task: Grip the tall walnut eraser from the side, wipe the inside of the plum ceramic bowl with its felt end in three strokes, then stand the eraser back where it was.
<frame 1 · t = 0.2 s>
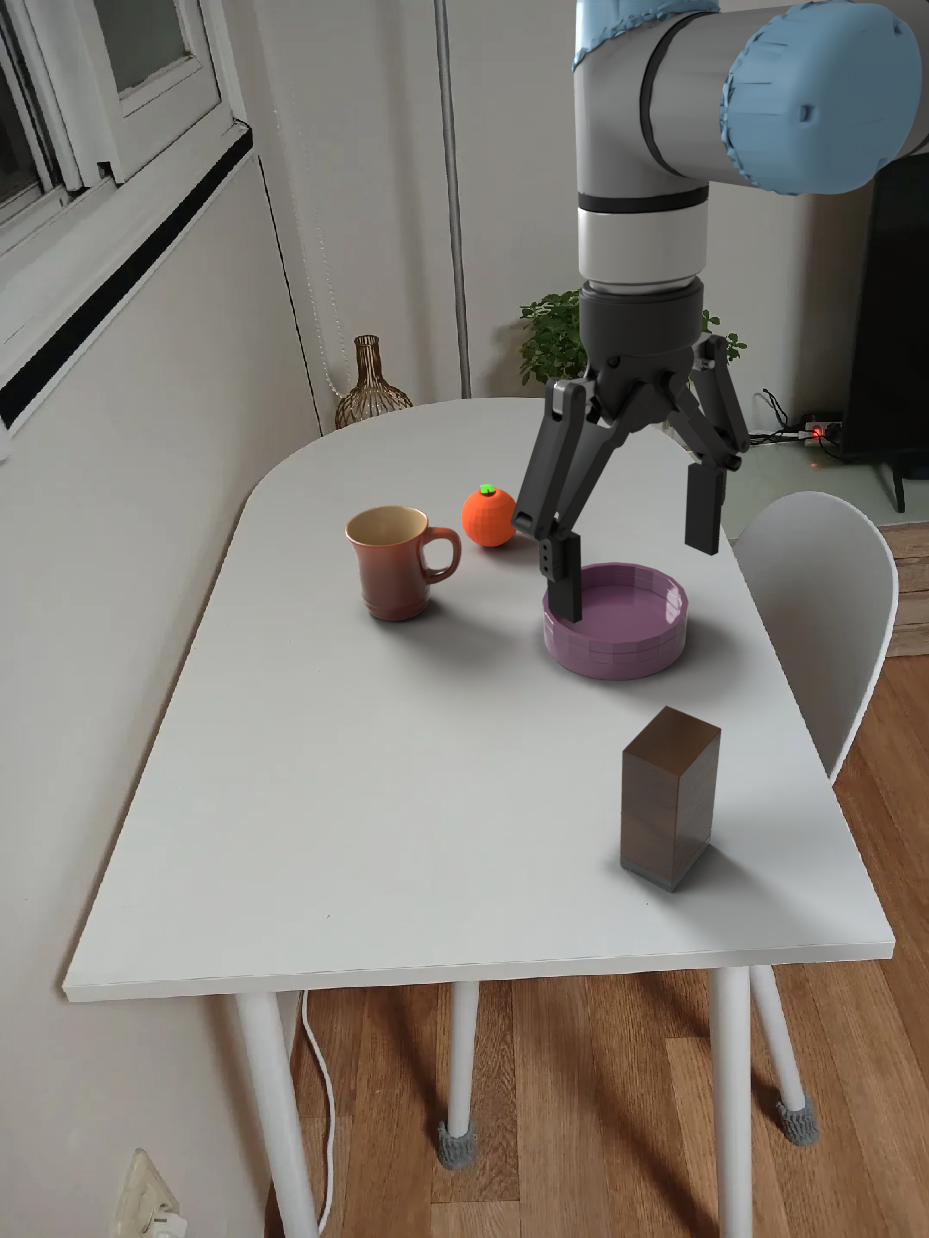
hand: (636, 580, 69), 20 cm above the table, tool pointing down, fingers open, 13 cm apart
clementine: (491, 541, 115), on the table
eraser: (665, 854, 74), on the table
bowl: (614, 636, 97), on the table
mug: (412, 607, 105), on the table
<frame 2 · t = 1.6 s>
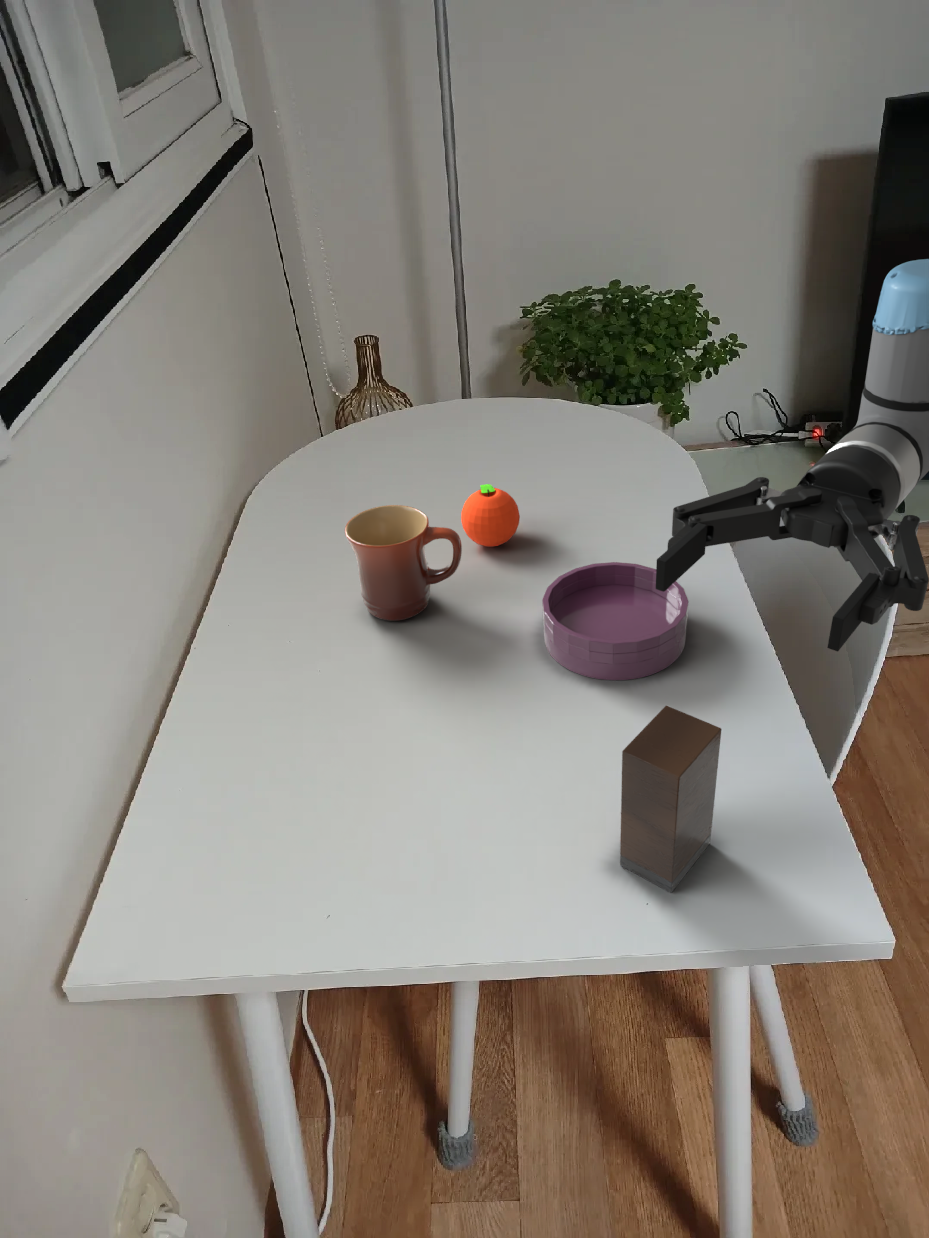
hand: (742, 603, 69), 18 cm above the table, tool horizontal, fingers open, 13 cm apart
nothing on the table moved.
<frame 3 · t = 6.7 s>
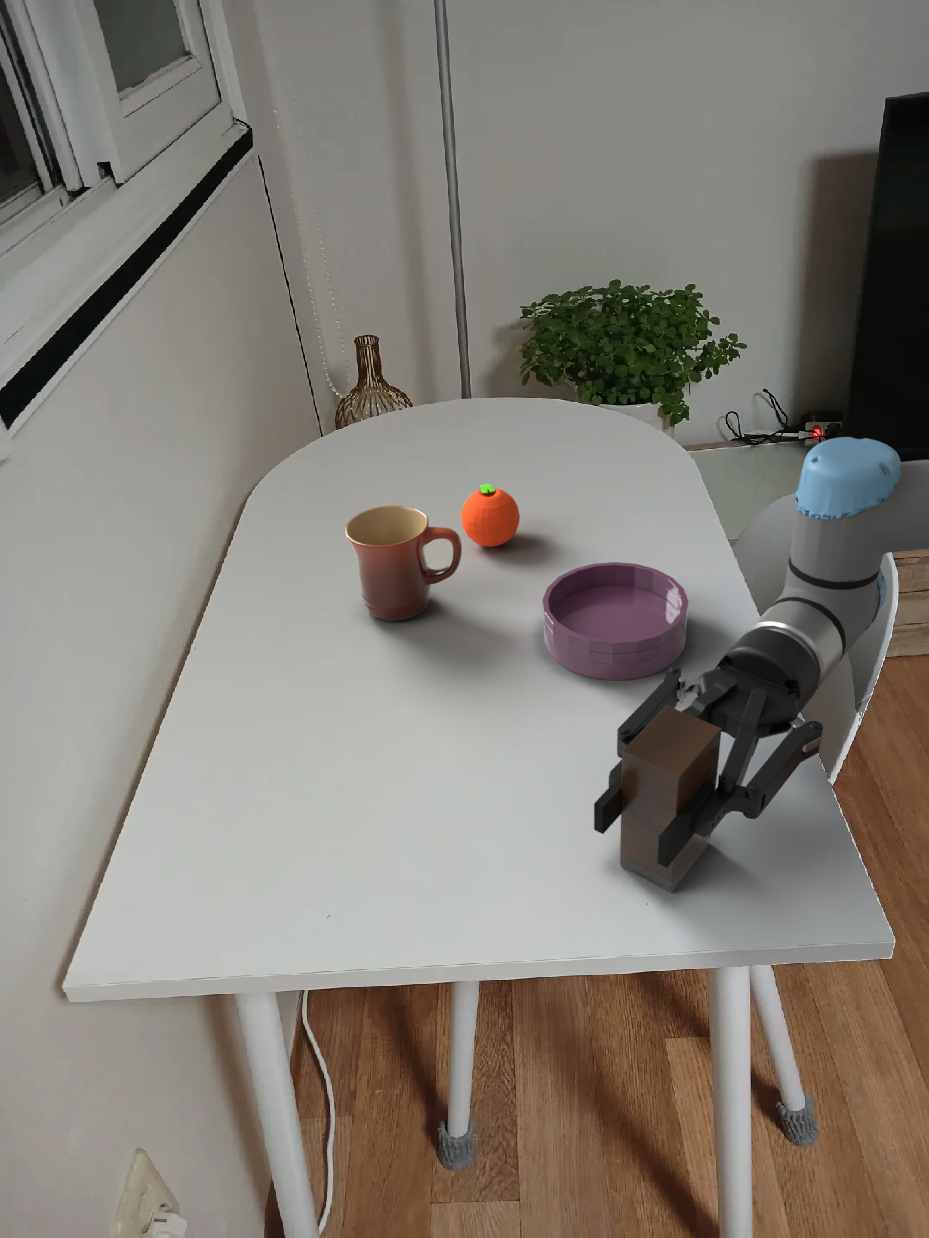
hand: (630, 834, 67), 7 cm above the table, tool horizontal, fingers closed on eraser, 4 cm apart
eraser: (665, 854, 74), on the table, touching gripper
everything else where it was.
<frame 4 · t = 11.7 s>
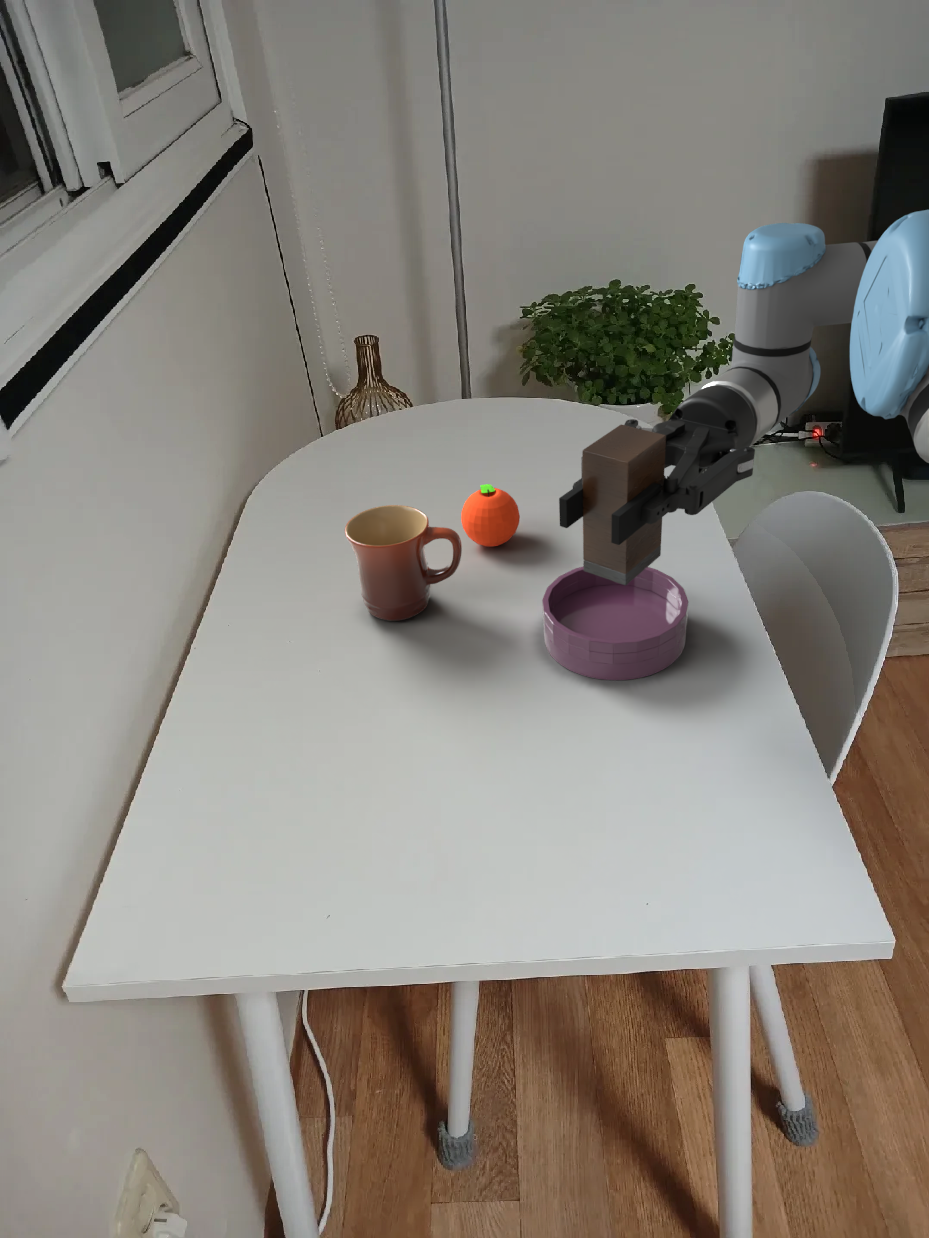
hand: (589, 521, 80), 19 cm above the table, tool horizontal, fingers closed on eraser, 4 cm apart
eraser: (622, 563, 87), point 12 cm above the table, touching gripper
everything else where it was.
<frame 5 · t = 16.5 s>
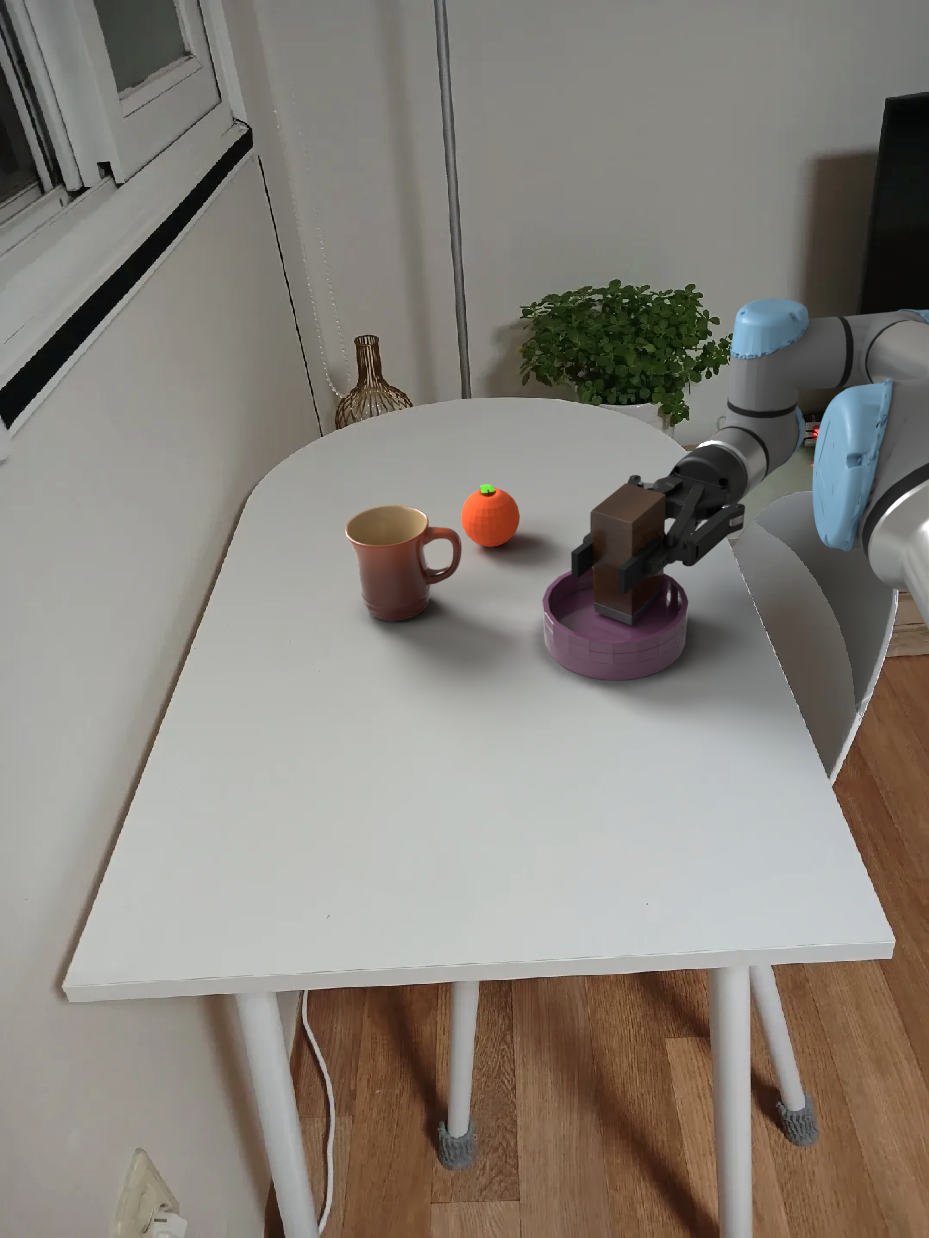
hand: (597, 573, 90), 9 cm above the table, tool horizontal, fingers closed on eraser, 4 cm apart
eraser: (628, 603, 97), point 2 cm above the table, touching gripper
everything else where it was.
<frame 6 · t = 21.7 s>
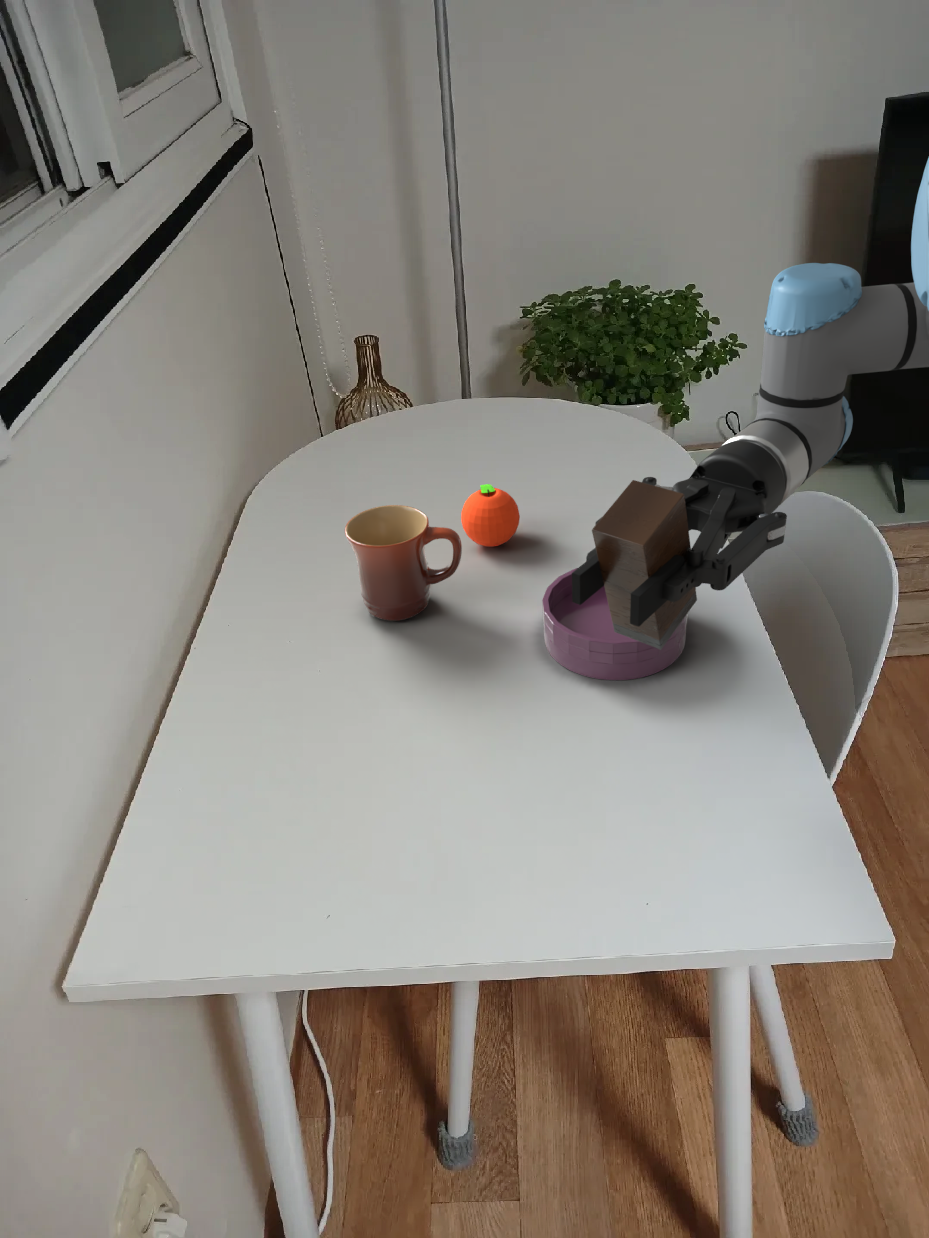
hand: (605, 599, 72), 18 cm above the table, tool horizontal, fingers closed on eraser, 4 cm apart
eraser: (655, 616, 80), point 11 cm above the table, tilted 16°, touching gripper
everything else where it was.
when the fingers open (7 cm above the table, at t = 26.7 s): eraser stays where it is, on the table.
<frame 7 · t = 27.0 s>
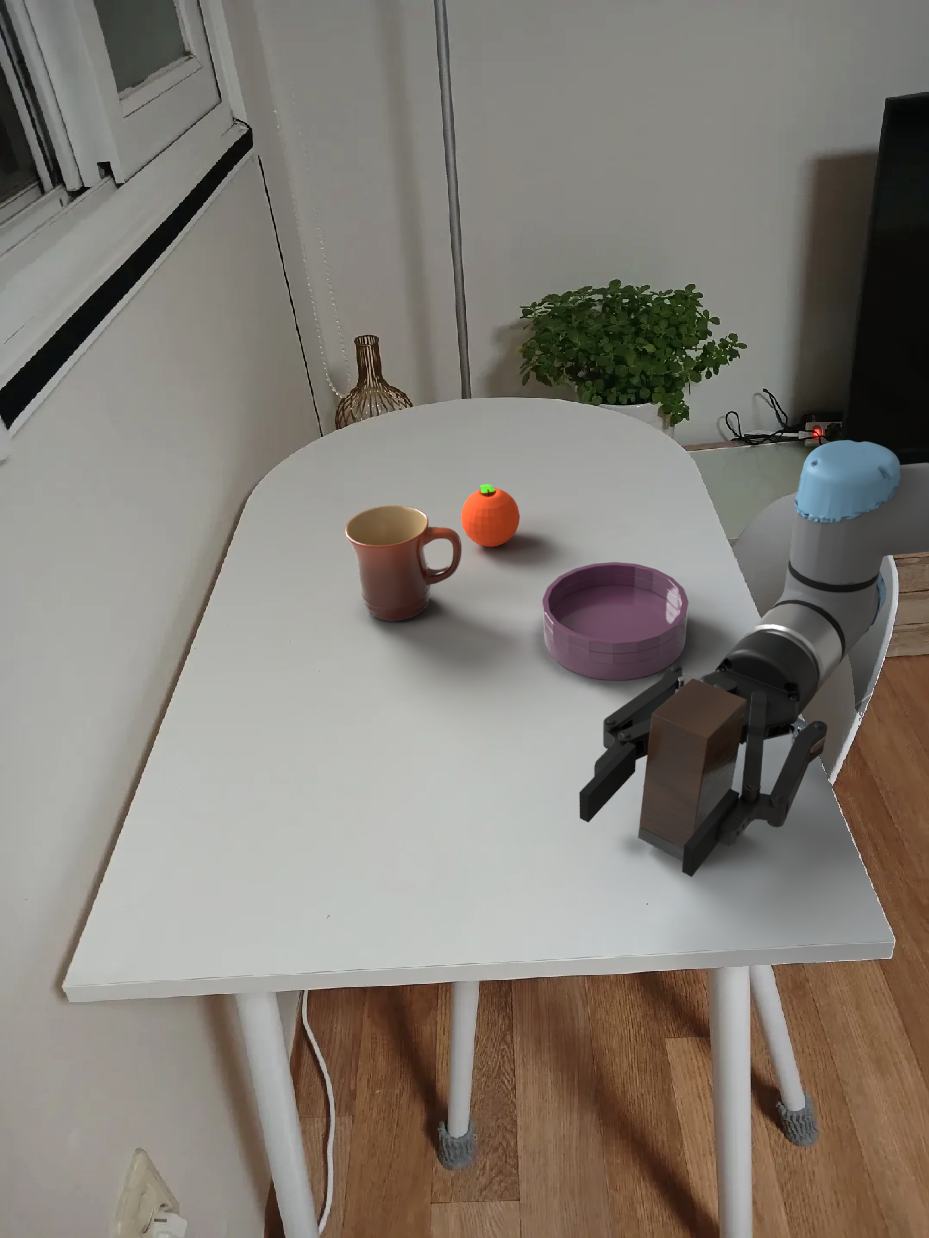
hand: (634, 833, 67), 7 cm above the table, tool horizontal, fingers open, 8 cm apart
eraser: (682, 830, 75), on the table, tilted 6°
everything else where it was.
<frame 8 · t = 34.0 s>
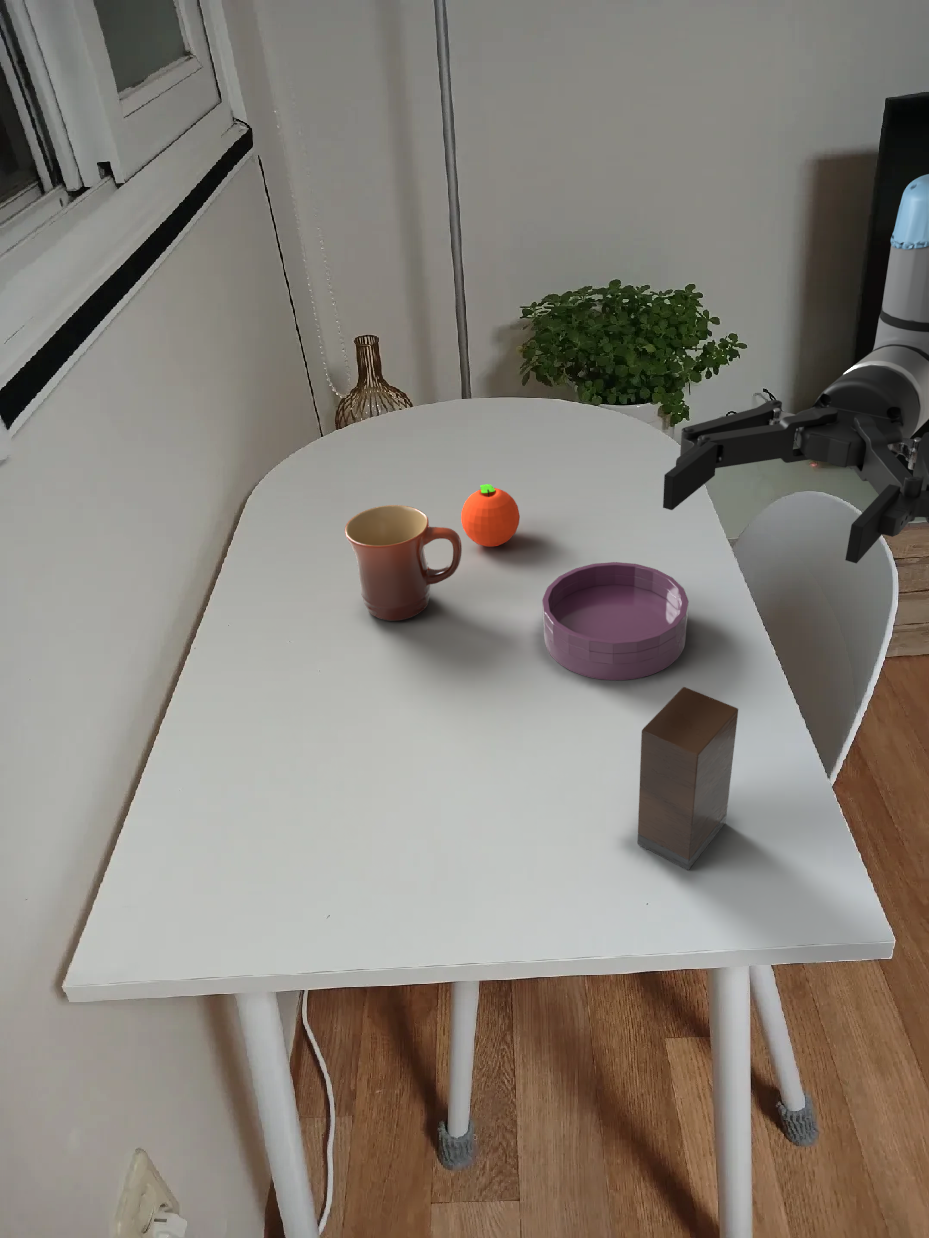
hand: (755, 517, 65), 25 cm above the table, tool horizontal, fingers open, 13 cm apart
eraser: (681, 833, 75), on the table
everything else where it was.
at the end: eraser inside the target area (2.6 cm from its centre), on the table; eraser tilted 0°; bowl moved 0.0 cm from its start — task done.
